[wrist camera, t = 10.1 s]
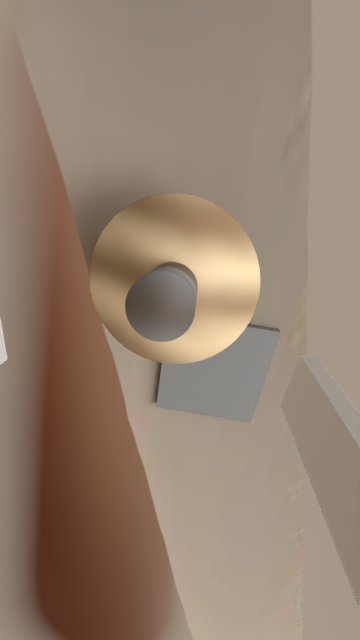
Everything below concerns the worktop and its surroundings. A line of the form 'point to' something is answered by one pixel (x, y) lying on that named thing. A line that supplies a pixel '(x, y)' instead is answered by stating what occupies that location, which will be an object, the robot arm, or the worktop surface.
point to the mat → (221, 378)
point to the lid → (174, 278)
